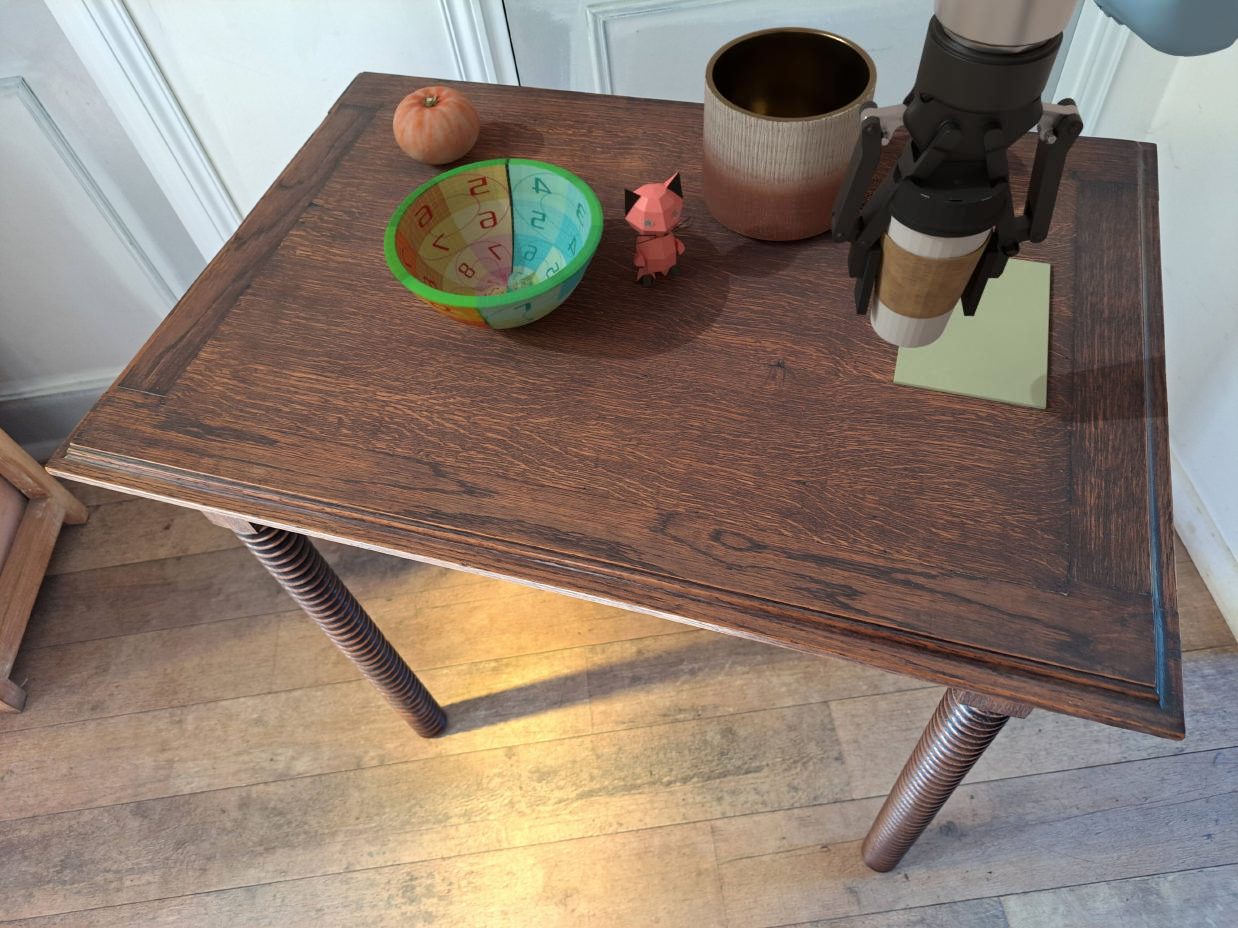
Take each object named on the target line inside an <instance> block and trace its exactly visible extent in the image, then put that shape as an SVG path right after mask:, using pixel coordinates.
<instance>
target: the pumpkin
mask: <svg viewBox="0 0 1238 928" xmlns="http://www.w3.org/2000/svg"><path fill="white" fill-rule="evenodd" d="M479 115H480V114H479V112H478V110H477V108H476V106H475V104H474V103H473V101H472V100H471V99H470V97H468V95H466V94H464V93H462V92H460V91H459V90H457V89H456V88H453V87H450V86H449V87H448V86H444V85H438V86H426V87H423V88H419V89H417V90H416V91H414V92H412V93H410V94H408V95H406V97H404V98H403V99H402V100H401V101H400V103H399V104H398V105H397V108H396V109H395V112H394V115H393V121H392V128H393V129H392V130H393V135H394V138H395V140H396V141H395V142H396V143H397V145H398V146H399V147H400V149H401V150H402V151H403V152H404V153H405V154H406V155H407V156H408V157H410V158H411V159H413V160H415V161H417V162H420V163H423V164H427V165H446V164H449V163H452V162H455V161H457V160H460V159H461V158H463V157H464V156H465V155H466V154H468V153H469V152H470V151H471V150H472V149H473V147H474V146H475V144H476V142H477V140H478V138H479V134H480V129H481V128H480V127H481V126H480V125H481V122H480V116H479Z"/></svg>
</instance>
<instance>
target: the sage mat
mask: <svg viewBox="0 0 1238 928" xmlns="http://www.w3.org/2000/svg"><path fill="white" fill-rule="evenodd" d="M1050 287H1051V263H1048V262H1047V263H1046V262H1040V261H1032V260H1024V259H1019V258H1018V259H1016V258H1012V257H1009V259H1008V262H1007V264H1006V267H1005V269H1004V271H1003V274H1002V275H1001V276H1000V277H999V278H989V279H988V281H987V284H986V286H985V289H984V292H983V294H982V297H981V299H980V302H979V305H978V307H977V310H976V312H975V315H974V316H964V313H963V308H962V303H961V298H960V299H959V301H958V303H957V304H956V306H955V308H954V310H953V312H952V314H951V316H950V319H949V321H948V323H947V325H946V327H945V329H944V331H943V333H942V335H941V336H940V337H939V338H938V339H937V340H936V341H935V342H933V343H931V344H929V345H926V346H923V347H917V348H907V347H900V346H898V350H897V351H898V352H897V356H896V361H895V362H896V363H895V369H894V376H893V384H896V385H902V386H907V387H913V388H919V389H925V390H931V391H935V392H942V393H947V394H954V395H958V396H964V397H972V398H975V399H980V400H981V399H982V400H987V401H993V402H999V403H1005V404H1010V405H1015V406H1021V407H1028V408H1033V409H1039V410H1043V411H1045V410H1046V409H1047V388H1048V357H1049V355H1048V354H1049V326H1050V325H1049V321H1050V320H1049V319H1050V294H1051V293H1050V292H1051V290H1050V289H1051V288H1050Z"/></svg>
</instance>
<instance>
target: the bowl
mask: <svg viewBox="0 0 1238 928" xmlns="http://www.w3.org/2000/svg"><path fill="white" fill-rule="evenodd" d="M604 225H605V224H604V212H603V208H602V203H601V202H600V200H599V198H598V196H597V194H596V192H594V191H593V189H592V188H591V187H590V186H589V184H588V183H586V182H585V181H584V180H583V179H581V177H579V176H577V175H576V174H575V173H572V172H571V171H569V170H567V169H565V168H562V167H560V166H558V165H555V164H553V163H547V162H544V161H540V160H534V159H526V158H495V159H489V160H482V161H477V162H473V163H469V164H465V165H461V166H458V167H455V168H452V169H450V170H448V171H445V172H443V173H441V174H439V175H437V176H435V177H433V178H430V179H429V180H428V181H426V182H425V183H423V184H421V185H420V186H419V187H418V188H417V187H416V189H414V190H413V192H411V193H410V194H409V195H407V197H406V198H405V199H404V200H403V201H402V202H401V203H400V204H399V205H398V206H397V208H396V210H395V211H394V212H393V213H392V215H391V217H390V219H389V222H388V224H387V226H386V228H385V233H384V238H383V253H384V256H385V257H384V258H385V260H386V265H387V266H388V268H389V270H390V272H391V273H392V275H393V276H394V277H395V278H396V280H398V282H399V283H400V284H401V285H402V286H403V287H405V288H406V289H408V290H409V291H410V292H412V294H413V295H414V296H415V297H417V298H419V299H420V300H421V301H423V302H424V303H426V304H428V306H430V307H431V308H432V309H434V310H435V311H437V312H438V313H439V314H441V315H444V316H445V317H447V318H449V319H451V320H453V321H455V322H457V323H460V324H463V325H466V326H470V327H475V328H480V329H481V328H482V329H488V330H491V329H492V330H501V329H502V330H503V329H512V328H518V327H521V326H524V325H528V324H530V323H533V322H535V321H537V320H539V319H541V318H543V317H545V316H547V315H548V314H550V313H551V312H553V311H554V310H555V309H557V308H558V307H559V306H560V305H562V304H563V303H564V302H565V301H566V300H567V299H568V298H569V297H570V296H571V294H572V293H573V291H574V290H575V289H576V288H577V286H578V285H579V283H580V282H581V281H582V279H583V277H584V274H585V273H586V270H587V268H588V267H589V265H590V263H591V262H592V259H593V257H594V255H595V253H596V251H597V249H598V246H599V244H600V242H601V240H602V236H603V231H604V227H605V226H604Z"/></svg>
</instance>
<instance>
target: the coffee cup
mask: <svg viewBox="0 0 1238 928" xmlns="http://www.w3.org/2000/svg"><path fill="white" fill-rule="evenodd" d="M901 155H902V153H901V154H900V155H899V157H898V159H899V158H900V156H901ZM895 163H896V162H895ZM893 179H894V183H897V184H900V185H899V188H898V190H897V193H896V195H895V198H894V199H893V200H891V201H890V202H889V204H890V205H889V207H888V208H887V211H888V212H889V213H890V214H891V215H892V218H891V222H890V223H889V224H888V226H887V227H886V228H885V230H884V231H883V232H882V234H881V235H880V236H879V238H880V246H881V256H880V260H879V264H878V268H877V272H876V276H875V281H874V285H873V288H874V289H873V296H872V304H871V310H870V324H871V326H872V329H873V330H874V332H875V333H876V334H877V335H878V336H879V338H880V339H883V340H884V341H885V342H887V343H889V344H892V345H894V346H897V347H899V346H900V347H907V348H917V347H923V346H926V345H929V344H931V343H933V342H935V341H936V340H937V339H938V338H939V337H940V336H941V335H942V333H943V331H944V329H945V327H946V325H947V323H948V321H949V319H950V316H951V314H952V312H953V310H954V308H955V306H956V304H957V303H958V301H959V299H960V297H961V295H962V293H963V291H964V289H965V287H966V285H967V283H968V281H969V279H970V277H971V275H972V273H973V271H974V269H975V267H976V265H977V263H978V261H979V259H980V257H981V255H982V253H983V251H984V249H985V247H986V245H987V243H988V241H989V239H990V236H991V234H992V228H995V225H996V224H997V223H999V221H1000V220H1001V219H1002V217H1003V216H1004V214H1005V211H1006V205H1007V202H1008V201H1007V200H1006V199H1005V194H1006V188H1007V183H1008V181H1003V180H999V182H998V184H997V185H996V187H994V188H990V184H989V180H988V176H987V173H986V169H985V163H984V165H983V167H970V166H966V165H961V164H958V165H953V166H948V167H937V168H936V170H935V171H934V172H933V173H932V175H931V176H930V177H929V179H928V180H927V181H922V182H921V183H920V184H919V186H917V185H915V184H914V183H913V182H911V181H910V180H902V177H901V174H900V171H899V167H898V163H896V167H895V171H894V174H893Z"/></svg>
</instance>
